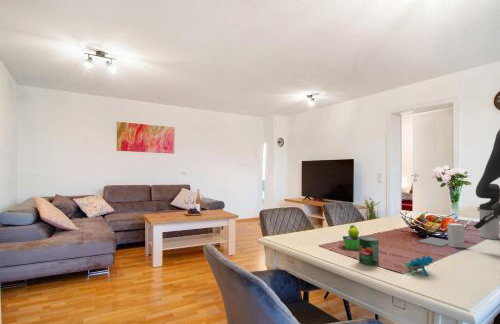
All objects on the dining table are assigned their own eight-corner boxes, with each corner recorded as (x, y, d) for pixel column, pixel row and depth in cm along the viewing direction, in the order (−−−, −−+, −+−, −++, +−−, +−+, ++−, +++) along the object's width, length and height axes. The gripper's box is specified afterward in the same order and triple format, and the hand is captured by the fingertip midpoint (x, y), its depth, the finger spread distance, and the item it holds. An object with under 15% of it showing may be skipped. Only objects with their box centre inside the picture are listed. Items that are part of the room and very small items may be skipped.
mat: (431, 237, 166) (431, 237, 166) (454, 242, 156) (454, 241, 157) (417, 241, 156) (417, 241, 156) (441, 247, 146) (441, 246, 146)
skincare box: (459, 245, 149) (459, 223, 150) (464, 247, 145) (464, 225, 145) (447, 245, 150) (447, 223, 150) (452, 247, 146) (452, 224, 146)
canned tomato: (379, 262, 121) (379, 237, 121) (377, 267, 114) (377, 241, 114) (360, 259, 125) (360, 234, 125) (357, 264, 118) (357, 238, 118)
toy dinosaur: (425, 264, 113) (435, 252, 107) (434, 278, 109) (445, 267, 102) (399, 268, 113) (408, 256, 106) (407, 282, 109) (416, 271, 102)
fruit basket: (343, 249, 140) (343, 227, 140) (342, 244, 149) (342, 223, 149) (367, 251, 137) (367, 228, 138) (364, 246, 146) (364, 225, 146)
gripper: (503, 199, 137) (473, 220, 147) (495, 201, 130) (464, 222, 139) (518, 211, 133) (486, 232, 142) (511, 213, 125) (477, 235, 135)
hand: (475, 227), depth 141 cm, fingers closed
